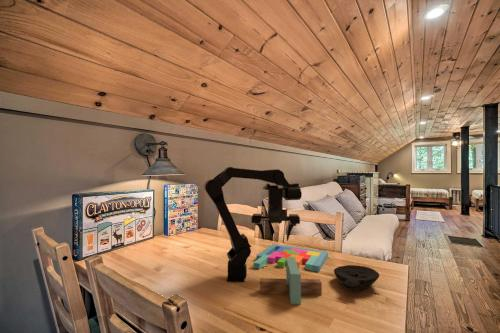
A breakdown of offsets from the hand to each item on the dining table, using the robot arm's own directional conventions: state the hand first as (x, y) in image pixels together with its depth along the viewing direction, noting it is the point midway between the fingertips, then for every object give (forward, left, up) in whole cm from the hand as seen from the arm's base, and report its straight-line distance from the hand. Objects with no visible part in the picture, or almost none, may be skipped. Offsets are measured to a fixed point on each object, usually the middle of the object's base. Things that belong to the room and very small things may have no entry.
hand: (275, 240), depth 96 cm
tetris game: (+7, +13, -14) cm, 20 cm away
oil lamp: (+27, -10, -13) cm, 31 cm away
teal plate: (+5, -15, -13) cm, 21 cm away
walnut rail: (+4, -15, -13) cm, 20 cm away
